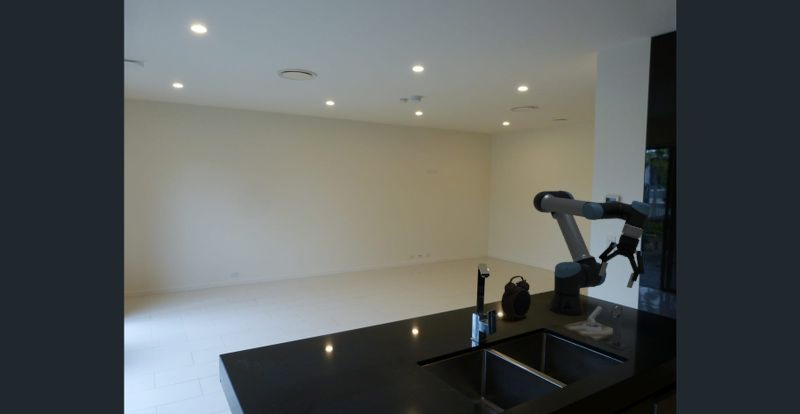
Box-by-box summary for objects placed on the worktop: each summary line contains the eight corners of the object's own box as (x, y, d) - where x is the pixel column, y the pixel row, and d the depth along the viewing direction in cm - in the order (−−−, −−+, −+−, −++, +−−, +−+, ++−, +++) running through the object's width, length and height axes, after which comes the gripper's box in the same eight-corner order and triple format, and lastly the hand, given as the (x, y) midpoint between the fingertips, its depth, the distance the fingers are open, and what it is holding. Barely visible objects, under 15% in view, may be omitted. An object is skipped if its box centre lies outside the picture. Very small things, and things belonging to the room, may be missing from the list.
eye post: (605, 344, 159) (606, 304, 158) (613, 341, 161) (614, 302, 160) (619, 349, 154) (620, 308, 152) (627, 347, 156) (629, 306, 155)
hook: (617, 320, 168) (605, 311, 166) (598, 341, 170) (586, 333, 169) (607, 310, 175) (596, 302, 174) (588, 330, 177) (577, 323, 176)
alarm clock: (512, 324, 181) (512, 280, 180) (499, 319, 187) (500, 276, 186) (533, 318, 189) (534, 275, 188) (521, 313, 195) (521, 272, 194)
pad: (563, 327, 177) (563, 325, 177) (588, 321, 184) (588, 319, 184) (595, 340, 162) (595, 338, 162) (621, 333, 169) (621, 331, 169)
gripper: (664, 246, 169) (646, 293, 171) (609, 229, 190) (595, 272, 192) (654, 243, 165) (636, 292, 167) (600, 227, 186) (585, 270, 189)
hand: (614, 281), depth 180 cm, fingers open, 13 cm apart
